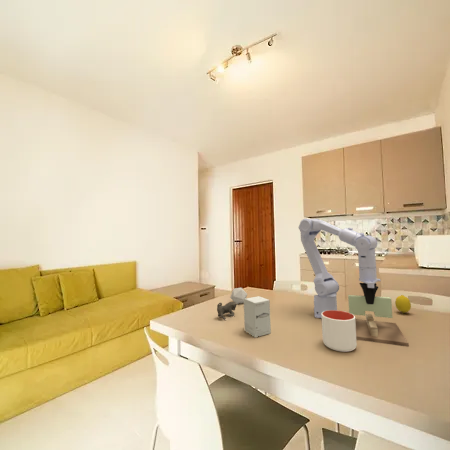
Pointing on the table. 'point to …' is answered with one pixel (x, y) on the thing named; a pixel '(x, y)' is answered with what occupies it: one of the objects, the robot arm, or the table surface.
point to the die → (238, 295)
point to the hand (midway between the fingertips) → (369, 303)
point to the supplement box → (257, 316)
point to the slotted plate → (370, 306)
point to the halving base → (379, 331)
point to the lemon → (403, 304)
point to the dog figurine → (226, 309)
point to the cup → (339, 330)
